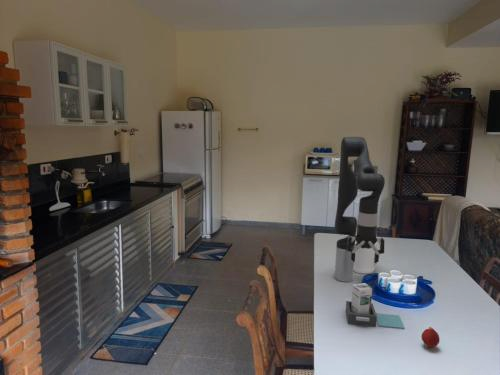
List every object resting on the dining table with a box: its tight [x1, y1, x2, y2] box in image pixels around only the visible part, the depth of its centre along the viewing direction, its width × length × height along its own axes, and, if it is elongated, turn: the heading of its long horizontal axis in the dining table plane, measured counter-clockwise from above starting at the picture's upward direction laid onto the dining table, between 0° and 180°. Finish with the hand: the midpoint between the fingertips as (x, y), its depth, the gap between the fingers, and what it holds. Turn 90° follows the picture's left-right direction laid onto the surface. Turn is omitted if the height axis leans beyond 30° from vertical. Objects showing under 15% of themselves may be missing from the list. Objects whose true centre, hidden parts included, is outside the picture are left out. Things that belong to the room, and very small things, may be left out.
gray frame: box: [344, 300, 378, 328], centre depth 153 cm, size 12×11×4 cm
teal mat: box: [376, 312, 406, 330], centre depth 152 cm, size 10×10×1 cm
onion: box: [421, 326, 440, 349], centre depth 134 cm, size 6×6×8 cm
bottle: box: [353, 230, 378, 275], centre depth 204 cm, size 14×14×28 cm
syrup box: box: [351, 282, 373, 315], centre depth 152 cm, size 6×6×14 cm
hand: (364, 262), depth 149 cm, fingers open, 8 cm apart
